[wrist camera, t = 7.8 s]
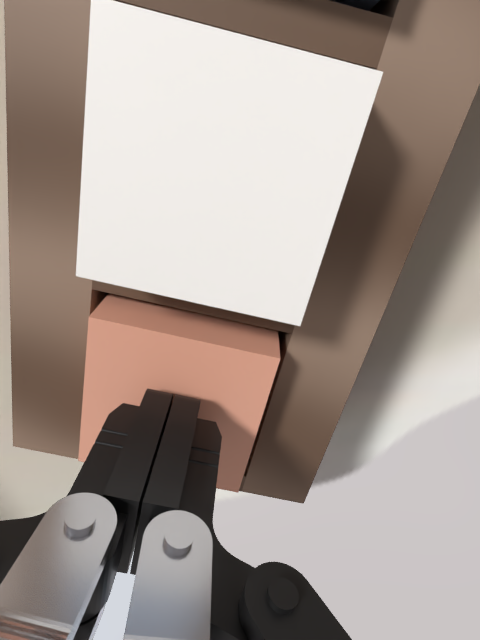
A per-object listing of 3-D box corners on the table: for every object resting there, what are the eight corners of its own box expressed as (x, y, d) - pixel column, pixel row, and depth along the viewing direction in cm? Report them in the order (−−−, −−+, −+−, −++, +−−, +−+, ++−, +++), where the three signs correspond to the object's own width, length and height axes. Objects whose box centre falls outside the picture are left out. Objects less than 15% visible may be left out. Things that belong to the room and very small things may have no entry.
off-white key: (138, 28, 10) (91, -6, 7) (349, 84, 10) (383, 71, 7) (118, 239, 12) (75, 276, 9) (290, 279, 12) (300, 326, 9)
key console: (100, -393, 9) (-11, -745, 5) (542, -252, 9) (716, -479, 6) (63, 378, 18) (12, 446, 14) (295, 426, 18) (303, 503, 15)
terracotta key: (123, 276, 13) (88, 316, 11) (276, 310, 14) (280, 358, 11) (109, 400, 15) (78, 460, 13) (241, 428, 16) (238, 492, 13)
